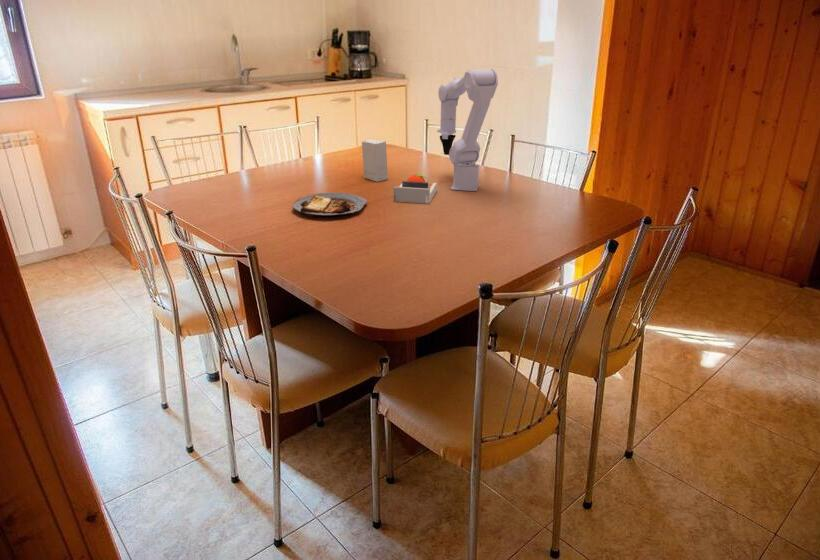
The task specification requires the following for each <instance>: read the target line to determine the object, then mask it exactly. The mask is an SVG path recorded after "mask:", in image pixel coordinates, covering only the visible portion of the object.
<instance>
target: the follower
mask: <svg viewBox="0 0 820 560" xmlns="http://www.w3.org/2000/svg"><path fill="white" fill-rule="evenodd" d="M401 184H402V187H411V188H427V189H429V184H430V183H429V181H425V182H413V181H407V180H402V181H401Z"/></svg>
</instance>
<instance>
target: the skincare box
mask: <svg viewBox="0 0 820 560" xmlns="http://www.w3.org/2000/svg"><path fill="white" fill-rule="evenodd" d="M361 148H362V162H363V178H364V179H365V178H367V179H366V180H369V179H370V181H374V182H383V181H388V179H389V175H388V171H389V170H388V157H387V154H388V153H387V141H386V140H381V139H375V138H370V139H366V140H362V141H361Z"/></svg>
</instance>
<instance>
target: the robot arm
mask: <svg viewBox="0 0 820 560" xmlns="http://www.w3.org/2000/svg"><path fill="white" fill-rule="evenodd" d="M498 81H499V80H498V74H497V72H496V70H495V69H493V68H491V69H479V70H477V69H475V70H473V69H469V70H467V71H465V72H464V75H463V76H462V77H461V78H460V77H455V78H453V80H452V81H449V82H448V84H446V85H445V84H442V85H441V84H440V86H439V88H438V93H437V95H438V98H439V99H438V100H439V101H440V127H439V129H437V130H436V131H437V133H440V134H441V135H440V136H439V139H440V140H439V141H440V143H441V145H442V150H443V155H446V156H448V158H449V161H450V162H451V163H452V165H453V177H452V178H453V179H452V180H453V182H452V186H451V187H450V190H452V191H468V192H476V191H477V190H478V188H479V185H480V180H479V179H480V165H478V164H476V163H477V162H478V161H479V158H480V150H481V146H480V144H479V142H478V141H477V140H478V137H479V135H480V132H481V130H482V126H483V124H484V122H485V118H486V116H487V113H488V109H489V108H490V105H491V100H492V99H493V98H494V95H495V93H496V91H497V88H498V85H499V82H498ZM465 93H466V94H467V97H468V99H469V100H470V101H472V103H473V104H472V105H471V108H470V112H469V115H468V118H467V120H466V124H465V126H464V129H463V133H462V136H461V137H460V138H459V139H457V140H456V141H454V140H455V138H456V136H457V135H456V132H457V129H456V124H457V123H456V121H457V106H458V104H459V99H460V96H462V95H463V94H465Z"/></svg>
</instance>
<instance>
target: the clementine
mask: <svg viewBox="0 0 820 560" xmlns="http://www.w3.org/2000/svg"><path fill="white" fill-rule="evenodd" d="M425 179H426V180H427V181H429V179H428V178H427V177H426V176H424V175H422V174H412V175H410V176H409V177H408V178H407V180H406V181H413V182H426V180H425Z"/></svg>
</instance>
